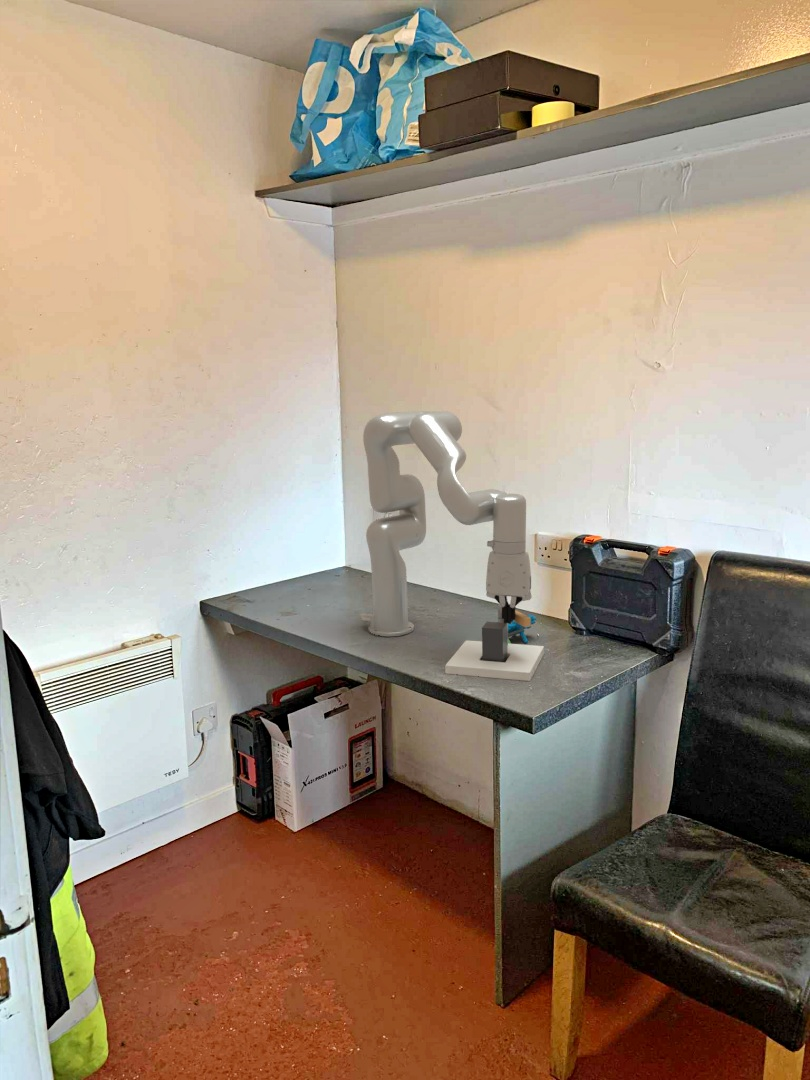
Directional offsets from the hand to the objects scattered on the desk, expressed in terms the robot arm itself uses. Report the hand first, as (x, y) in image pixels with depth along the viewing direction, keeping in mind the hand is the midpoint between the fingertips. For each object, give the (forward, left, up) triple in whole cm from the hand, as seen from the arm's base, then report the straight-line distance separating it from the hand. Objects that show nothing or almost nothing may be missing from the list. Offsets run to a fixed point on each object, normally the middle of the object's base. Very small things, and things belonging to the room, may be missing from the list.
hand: (508, 621), depth 195 cm
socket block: (-3, 0, -11) cm, 11 cm away
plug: (-3, -1, -11) cm, 11 cm away
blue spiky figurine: (-2, +19, -11) cm, 22 cm away
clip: (0, +4, -1) cm, 4 cm away
